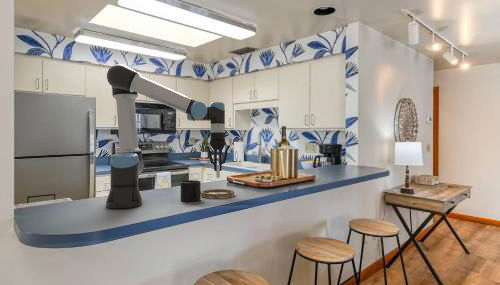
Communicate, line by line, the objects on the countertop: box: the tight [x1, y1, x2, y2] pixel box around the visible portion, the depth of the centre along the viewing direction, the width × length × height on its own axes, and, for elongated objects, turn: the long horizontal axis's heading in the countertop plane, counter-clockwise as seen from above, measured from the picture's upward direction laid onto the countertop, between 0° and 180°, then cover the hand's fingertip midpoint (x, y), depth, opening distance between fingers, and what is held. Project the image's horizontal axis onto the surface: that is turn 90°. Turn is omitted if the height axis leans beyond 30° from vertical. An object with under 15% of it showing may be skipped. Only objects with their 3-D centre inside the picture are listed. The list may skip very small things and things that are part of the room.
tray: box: [201, 188, 235, 200], centre depth 161 cm, size 17×17×2 cm
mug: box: [180, 179, 202, 203], centre depth 147 cm, size 9×12×9 cm
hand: (217, 177), depth 161 cm, fingers closed
